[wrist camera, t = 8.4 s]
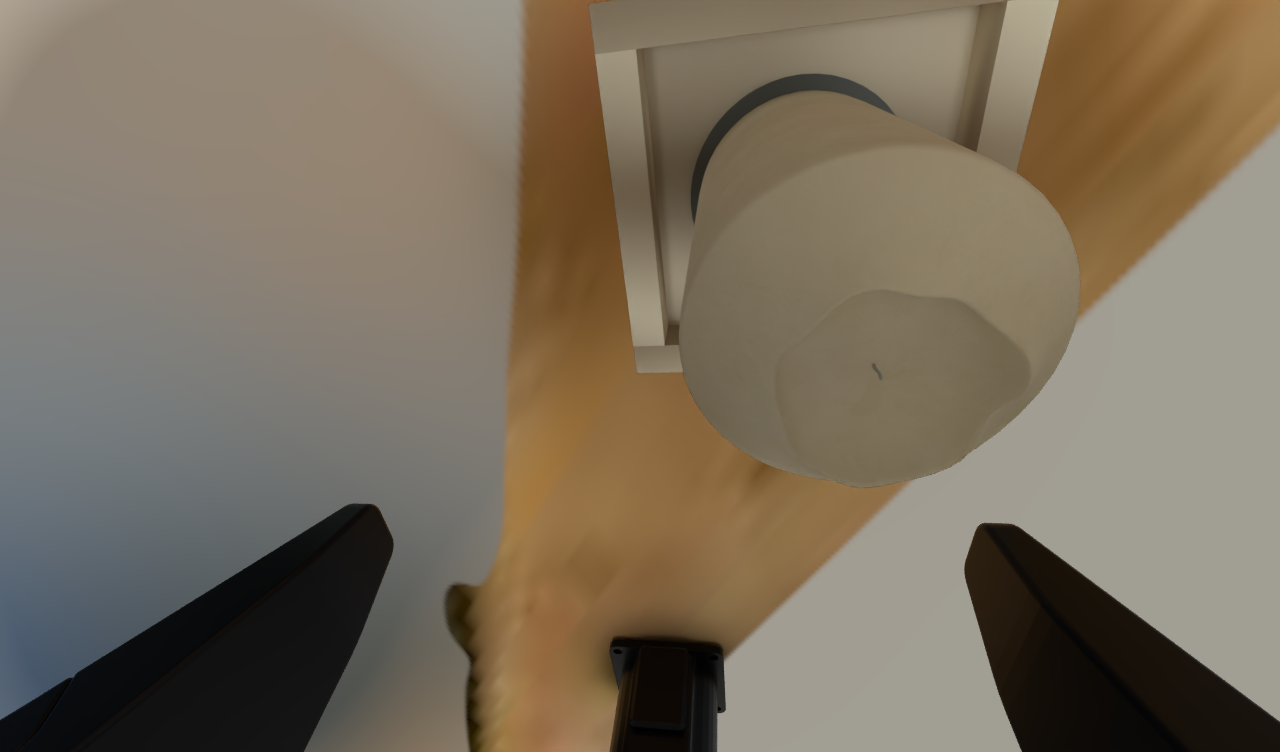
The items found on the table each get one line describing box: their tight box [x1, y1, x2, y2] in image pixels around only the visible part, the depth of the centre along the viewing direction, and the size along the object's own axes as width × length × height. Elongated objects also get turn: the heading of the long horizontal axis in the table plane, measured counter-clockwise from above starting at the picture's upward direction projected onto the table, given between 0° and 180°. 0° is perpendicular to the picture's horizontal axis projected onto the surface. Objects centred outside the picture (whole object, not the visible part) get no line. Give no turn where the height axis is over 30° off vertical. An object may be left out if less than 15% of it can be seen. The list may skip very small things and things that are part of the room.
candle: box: [679, 90, 1080, 488], centre depth 11 cm, size 6×6×10 cm
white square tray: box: [588, 0, 1059, 373], centre depth 15 cm, size 10×10×3 cm
